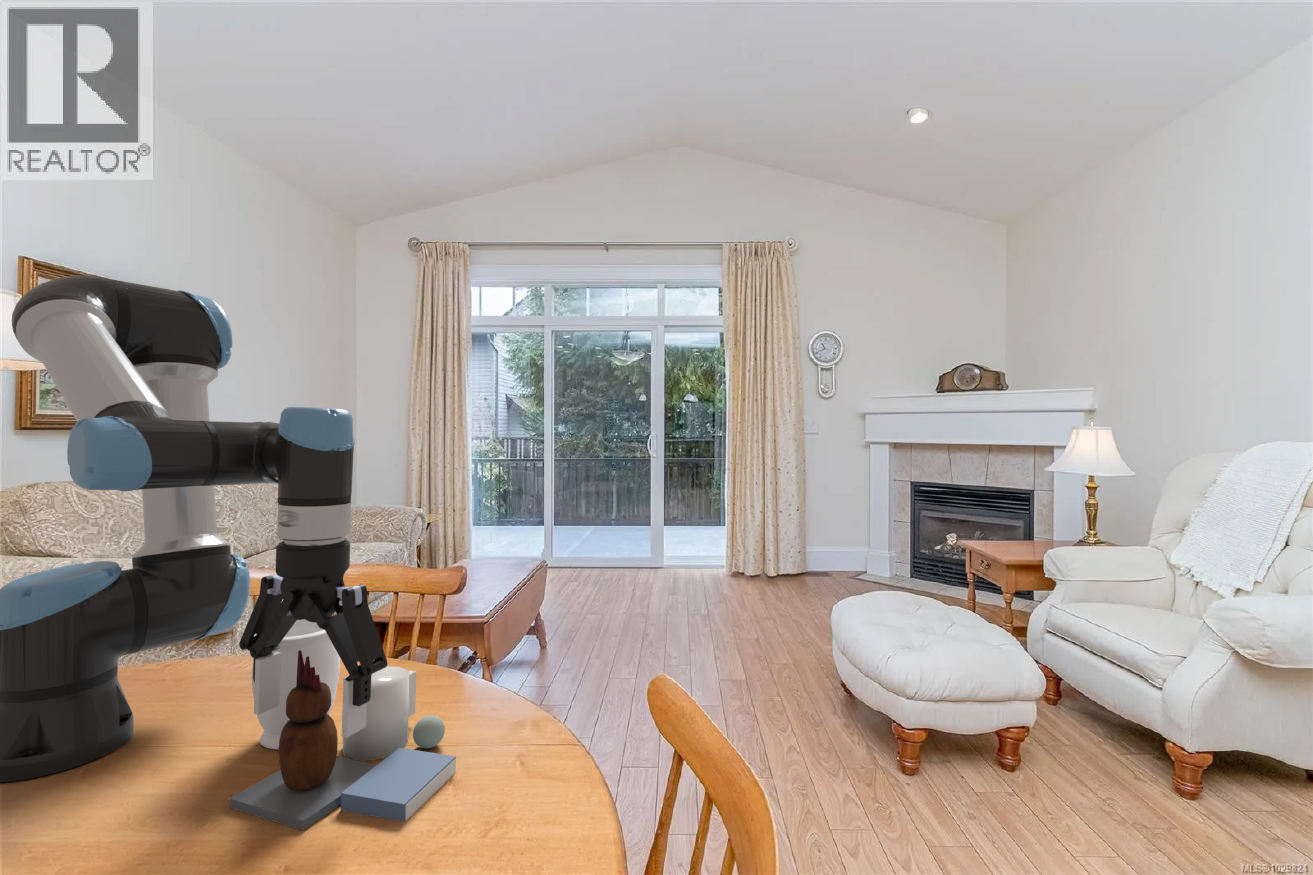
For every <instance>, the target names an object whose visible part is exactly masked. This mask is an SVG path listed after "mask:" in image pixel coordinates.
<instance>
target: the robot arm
mask: <svg viewBox="0 0 1313 875" xmlns="http://www.w3.org/2000/svg"><path fill="white" fill-rule="evenodd" d="M11 329H12V332H13V334H14V336H15V338H16V341H18V344H19V345H20V346H21V349H23V351H24V352H26V354H28V355H29V356H30V357H32V358H33V359H34V360H37V361H38V362H41V363H42V364H43V366H44V367H45V370H46V371H47V372H48V375H49V376H50V378H51V379H52V382H53V383H54V384H55V387H56V388H57V390H58V391H59V392H58V393H60V395H61V396H62V398H63V400H64V402H65V403H66V405H67V407H68V409H69V410H70V412H71V413H72V415H73V417H74V419H75V420H76V422H75V424H74V425H73V426H72V428H71V430H70V433H69V436H68V442H67V453H66V455H67V456H66V457H67V465H68V467H69V475H70V477H71V479H72V481H73V483H74V484H76V486H78V487H79V488H81V489H84V490H87V491H119V492H132V491H139V490H141V492H142V512H143V528H144V529H143V531H144V532H143V533H144V542H143V545H142V546H141V547H140V548H139V549H137V551H135V553H134V554H132V556H131V560H132V561H131V563H132V568H129V569H122V567H120V564H119V563H118V562H116V561H111V560H108V561H107V560H99V561H93V562H88V563H87V562H86V563H83V562H82V563H75V564H68V565H64V566H59V567H53V568H50V569H45V570H42V571H39V572H38V571H37V572H35V573H31V574H28V575H24V576H22V577H19V578H17V579H14V580H12V581H10V582H8V583H6V584H4V585H3V586H2V587H1V588H0V783H7V782H8V783H9V782H15V781H23V780H29V779H34V778H38V777H39V778H40V777H43V776H48V775H52V774H55V773H59V772H60V773H61V772H63V771H66V770H70V769H72V768H75V767H76V768H77V767H78V766H81V765H84V764H86V763H89V762H92V761H95V760H96V759H99V758H102V757H103V756H106V755H108V754H109V753H111V752H113V751H115V750H117V749H118V748H119V747H121V746H123V745H124V744H125V743H127V742H128V741H129V740H130V739H131V737H133V734H134V730H135V729H134V723H135V722H134V721H135V720H134V712H133V711H132V708H131V707H130V706H131V705H130V704H129V702H128V700H127V698H126V696H125V693H124V690H123V688H122V686H121V683H120V681H119V679H118V678H119V676H118V673H119V672H118V670H119V668H118V667H119V666H118V665H119V659H120V658H119V657H123V656H127V655H130V654H136V653H140V652H144V651H148V650H154V649H156V648H161V647H166V646H167V647H168V646H170V645H173V644H175V645H176V644H179V643H184V642H188V641H193V640H197V641H198V640H202V639H204V638H207V637H208V636H212V635H216V634H220V633H223V632H226V631H228V630H230V629H232V628H233V627H234V626H235V625H237V624H238V622H239V621H240V620H241V618H242V615H243V614H244V612H245V610H246V608H247V605H248V601H249V596H250V590H251V576H250V570H249V567H247V562H246V560H245V558H244V557H243V556H241V555H238V554H235V553H231V544H230V542H228V541H227V540H225V539H224V538H223V537H222V536H220V535H219V534H218V527H217V526H218V525H217V523H218V522H217V513H216V512H217V510H216V495H215V486H228V485H229V486H235V485H253V484H257V485H258V484H274V485H277V526H276V528H277V529H276V536H277V538H279V539H280V540H282V541H280V542H278V544H277V545H276V546H275V573H274V574H270V575H266V576H262V578H261V580H260V586H259V593H258V594H259V595H258V596H257V598H256V602H255V604H254V606H253V609H252V611H251V614H250V616H249V619H248V621H247V624H246V626H245V628H244V631H243V633H242V636H241V638H240V640H239V645H238V646H239V648H240V650H241V651H244V650H248V651H249V655H250V657H252V658H253V662H252V668H253V669H254V670H253V680H254V682H255V691H254V696H253V699H254V700H253V714H254V715H256V716H257V715H260V714H262V713H264V712H266V711H268V710H271V709H273V708H275V707H277V706H279V705H280V672H281V653H280V652H275V653H272V651H274V650H277V649H280V647H279V644H280V642H281V641H282V640H283V638H284V637H285V636H286V634H287V633H288V631H289V630H290V629H291V627H292V626H293V625H294V623H295V622H296V621H297V620H302V619H305V620H307V621H309V622H313V623H315V622H316V623H317V625H318V627H319V628H321V629H324V630H325V631H326V633H327V635H328V637H329V638H330V640H331V642H332V644H333V646H334V647H335V649H336V651H337V653H338V655H339V657H340V661H342V664H343V665H344V668H345V669H346V671H347V673H348V674H349V675H348V676H345V677H344V678H343V679H342V682H343V684H342V709H341V711H342V712H341V714H342V715H341V717H342V718H341V738H343V737H346V738H347V737H349V736H351V735H353V734H354V733H356V732H358V731H360V730H361V729H363V728H365V727H366V712H367V702H369V700H370V698H371V693H370V692H371V675H372V674H373V673H375V672H377V671H379V670H381V669H384V668H385V667H387V666H388V660H387V657H386V654H385V651H384V648H383V644H382V642H381V640H380V635H379V633H378V630H377V628H376V624H375V621H374V619H373V618H374V617H373V615H372V613H371V610H370V607H369V602H368V589H367V585H365V584H364V583H361V584H359V585H358V584H357V585H353V586H346V585H345V582H344V575H345V574H346V572H347V571H348V570H349V569H350V566H351V563H350V562H351V561H350V559H351V541H350V540H349V539H347V538H346V537H348V536H349V535H350V534H351V533H352V496H353V495H352V494H353V493H352V492H353V470H354V469H353V468H354V448H355V444H356V442H355V438H354V422H353V421H354V419H353V415H352V414H351V413H350V412H349V411H348V410H346V409H344V408H333V407H332V408H330V407H329V408H328V407H310V406H309V407H307V406H288V407H285V408H284V409H283V410H282V412H281V413H280V417H279V418H280V419H279V422H277V423H276V422H271V421H267V422H266V421H252V422H250V421H249V422H247V421H217V420H216V421H214V420H213V421H211V420H210V410H209V409H210V407H209V396H208V395H209V394H208V385H209V384H210V383H211V382H213V381H214V380H215V379H216V378H217V377H218V376H219V369H221V368H222V369H223V368H224V367H226V365H227V364H228V363H229V361H230V359H231V355H232V351H231V348H233V333H232V328H231V324H230V321H229V318H228V316H227V314H226V312H225V311H224V309H223V308H222V306H220V305H219V304H218V302H216V301H215V300H213V299H212V298H209V297H206V296H202V295H198V294H194V293H190V292H189V291H185V290H180V289H179V290H175V289H168V288H162V287H156V286H151V285H146V284H140V283H135V282H129V281H123V280H118V279H111V278H108V277H104V276H98V275H97V276H96V275H71V276H69V275H68V276H62V277H58V278H55V279H54V278H53V279H50V280H48V281H45V282H43V283H40V284H38V285H37V286H34V287H33V288H31V289H30V290H28V292H26V293H25V294H24V295H22V296H21V297H20V298H19V300H18V302H16V304H15V305H14V309H13V311H12V314H11ZM335 613H336V614H335ZM255 634H256V636H254V635H255ZM277 647H279V648H277ZM358 662H359V664H358Z"/></svg>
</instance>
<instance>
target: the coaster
mask: <svg viewBox="0 0 1313 875" xmlns="http://www.w3.org/2000/svg"><path fill="white" fill-rule="evenodd" d="M376 765H377V764H376ZM376 765H375V764H372V763H368V762H364V761H361V760H352V759H349V758H347V757H345V756H344V757H343V756H340V755H337V757H336V762H335V765H334V768H333V771H332V773H331V775H330V777H329V778H328V779H327V780H326V781H325V782H323V783H322V784H321V785H319V786H317V787H315V788H312V789H310V790H304V791H296V790H293V789H290V788H289V787H287V786H286V785H285V783H284V780H283V778H282V774H281V769H279V770H277V771H276V772H273V773H272V774H270V775H269V776H267V777H265V778H263V779H262V780H259V781H257V782H256V783H255V784H252V785H251V786H248V787H247V788H245V789H243V790H242V791H240V792H238V793H237V794H234V795H233V796H231V797H229V799H228V808H230V809H234V810H235V811H239V812H242V813H246V814H249V815H252V816H255V817H258V818H261V819H265V820H268V821H271V822H275V823H277V824H282V825H284V826H289V827H291V828H294V829H297V830H301V831H304V830H306V829H307V828H309V827H310V826H311V825H313V824H315V822H317V821H319V820H320V819H322V818H323V817H324V816H326V815H328V814H329V813H330V812H333V810H335V809H336V808H338V807H339V806H341V793H342V792H343V791H344V790H346V789H347V788H348V787H349V786H351V785H352V784H353V783H355V782H356V781H357V780H358V779H360V778H361V777H362V776H364V775H365V774H366V773H367V772H369V771H370V770H371V769H373V768H374V767H375V766H376Z"/></svg>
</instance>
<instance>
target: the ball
mask: <svg viewBox="0 0 1313 875" xmlns="http://www.w3.org/2000/svg"><path fill="white" fill-rule="evenodd" d="M445 728H446V726H445V723H444V722H443V720H442V719H441V718H440V717H439V716H437V715H426V716H424V717H421V718H420V719H419V720H418V721H417V722H416V723H415V725H414V728H413V729H412V730H413V731H412V738H413V741H414V743H415V744H416V746H417V747H420V748H421V749H425V750H426V749H431V748H434V747H436V746H437V745H439V744H440V742H441V741H442V740H443V738H444V735H445V731H446V729H445Z"/></svg>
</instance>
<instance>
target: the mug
mask: <svg viewBox="0 0 1313 875" xmlns="http://www.w3.org/2000/svg"><path fill="white" fill-rule="evenodd" d="M416 683H417V671H416V670H407V669H406V668H404V667H400V666H389V665H387V667H385V668H384V669H381V670H379V671H377V672H375V673H373V674H372V675H371V692H370V693H371V698H370V700H369V702H367V712H366V727H365V728H363V729H361V730H360V731H358V732H356V733H354V734H353V735H351V736H349V737H347V738H346V737H342V755H343V756H344V758H348V759H352V760H356V761H361V762H364V761H375V760H378V759H382V758H387V757H388V756H389V755H391V754H392V753H393V752H394V751H396V750H397V749H398V748H404V747H405V746H406V745H407V744H408V742H409V718H410V717H411V716H412V715H414V714H416V697H417V696H416V693H417V692H416V688H417V687H416V686H417V685H416Z"/></svg>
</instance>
